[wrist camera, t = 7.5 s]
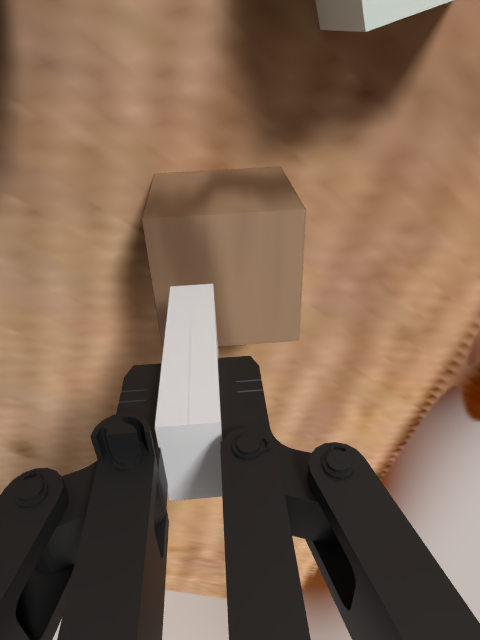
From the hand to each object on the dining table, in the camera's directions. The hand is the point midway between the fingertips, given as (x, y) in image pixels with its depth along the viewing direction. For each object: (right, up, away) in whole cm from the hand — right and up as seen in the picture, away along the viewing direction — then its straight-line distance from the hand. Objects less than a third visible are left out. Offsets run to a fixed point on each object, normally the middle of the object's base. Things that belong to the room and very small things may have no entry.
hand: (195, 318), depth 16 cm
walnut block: (-2, +3, +4) cm, 5 cm away
